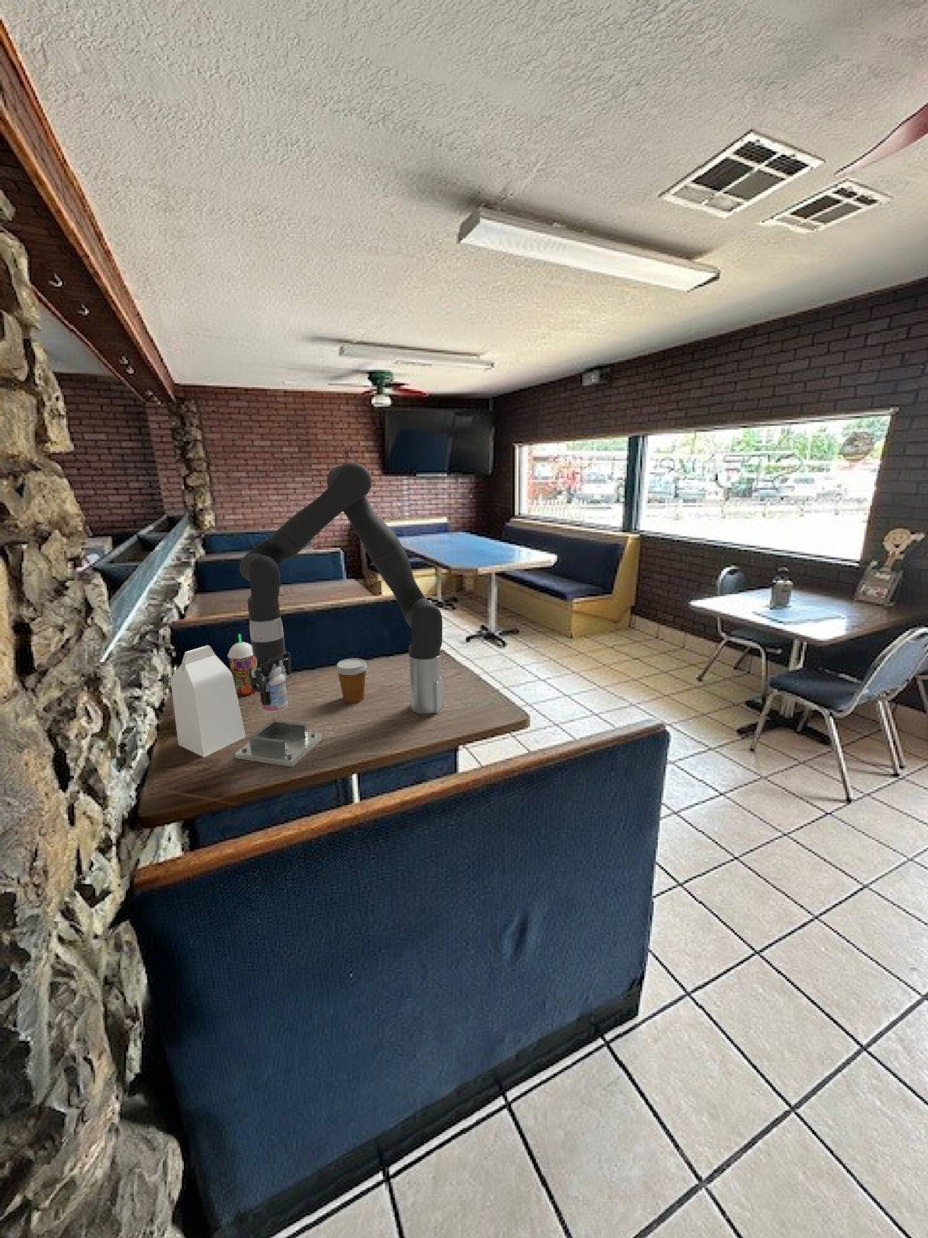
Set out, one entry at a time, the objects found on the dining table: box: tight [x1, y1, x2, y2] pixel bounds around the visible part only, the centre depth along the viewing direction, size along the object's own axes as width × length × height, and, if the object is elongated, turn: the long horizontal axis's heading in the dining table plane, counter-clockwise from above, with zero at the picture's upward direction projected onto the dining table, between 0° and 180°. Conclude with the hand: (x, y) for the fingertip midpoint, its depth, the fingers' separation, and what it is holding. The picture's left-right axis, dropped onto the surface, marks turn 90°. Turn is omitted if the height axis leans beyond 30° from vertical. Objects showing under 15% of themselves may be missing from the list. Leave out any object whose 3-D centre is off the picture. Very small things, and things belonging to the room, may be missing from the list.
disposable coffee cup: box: [335, 658, 368, 704], centre depth 159 cm, size 10×10×12 cm
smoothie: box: [227, 633, 258, 696], centre depth 163 cm, size 8×8×20 cm
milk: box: [170, 645, 246, 758], centre depth 132 cm, size 12×12×26 cm
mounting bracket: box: [235, 719, 323, 768], centre depth 131 cm, size 16×14×5 cm
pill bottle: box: [261, 666, 289, 714], centre depth 127 cm, size 6×6×11 cm
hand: (274, 698), depth 128 cm, fingers closed on pill bottle, 6 cm apart
